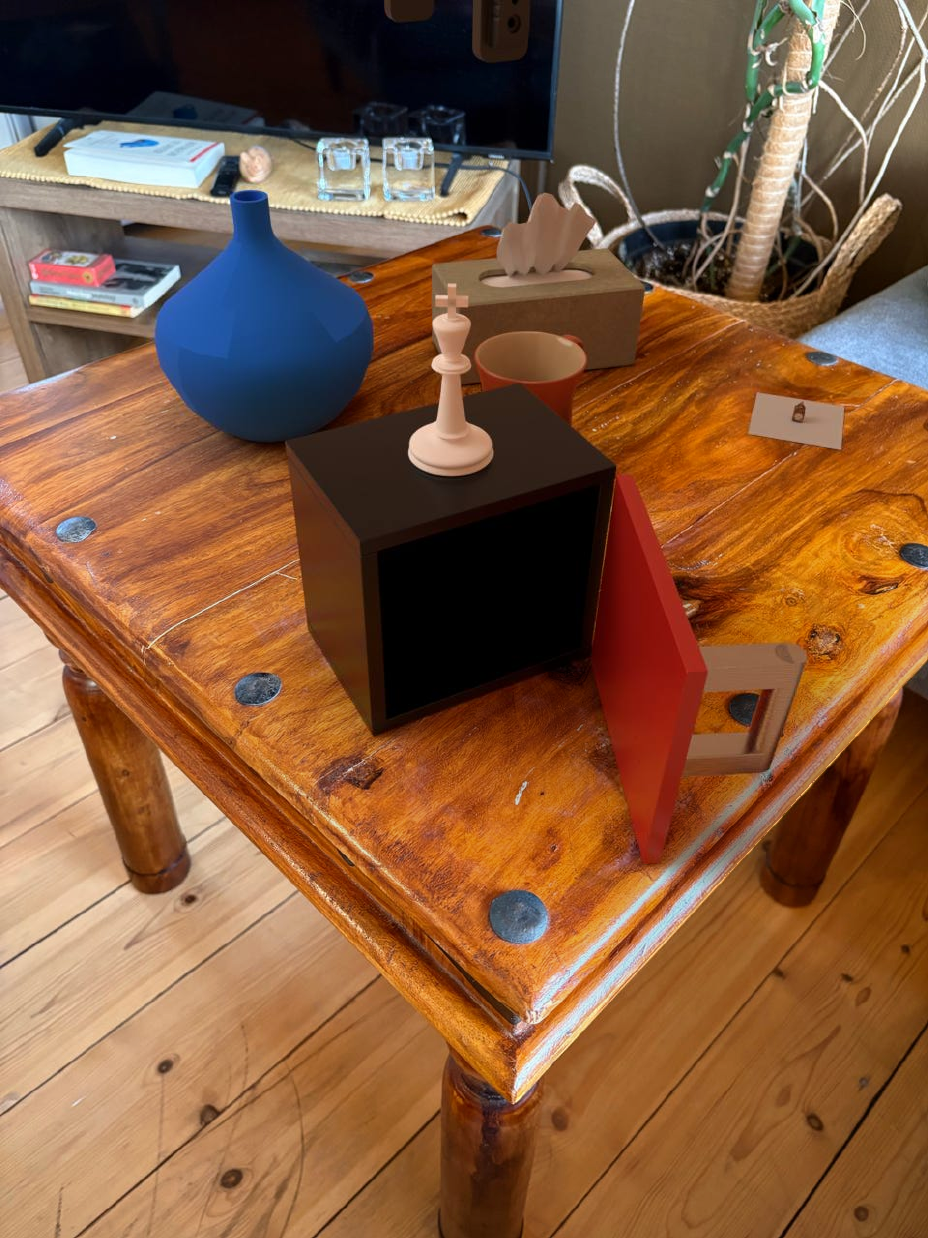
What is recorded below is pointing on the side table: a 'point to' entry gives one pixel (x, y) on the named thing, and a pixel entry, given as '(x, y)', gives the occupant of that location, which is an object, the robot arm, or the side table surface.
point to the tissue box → (547, 289)
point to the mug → (534, 366)
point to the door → (673, 679)
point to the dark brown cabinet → (449, 555)
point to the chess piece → (451, 403)
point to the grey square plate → (797, 420)
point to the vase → (264, 336)
